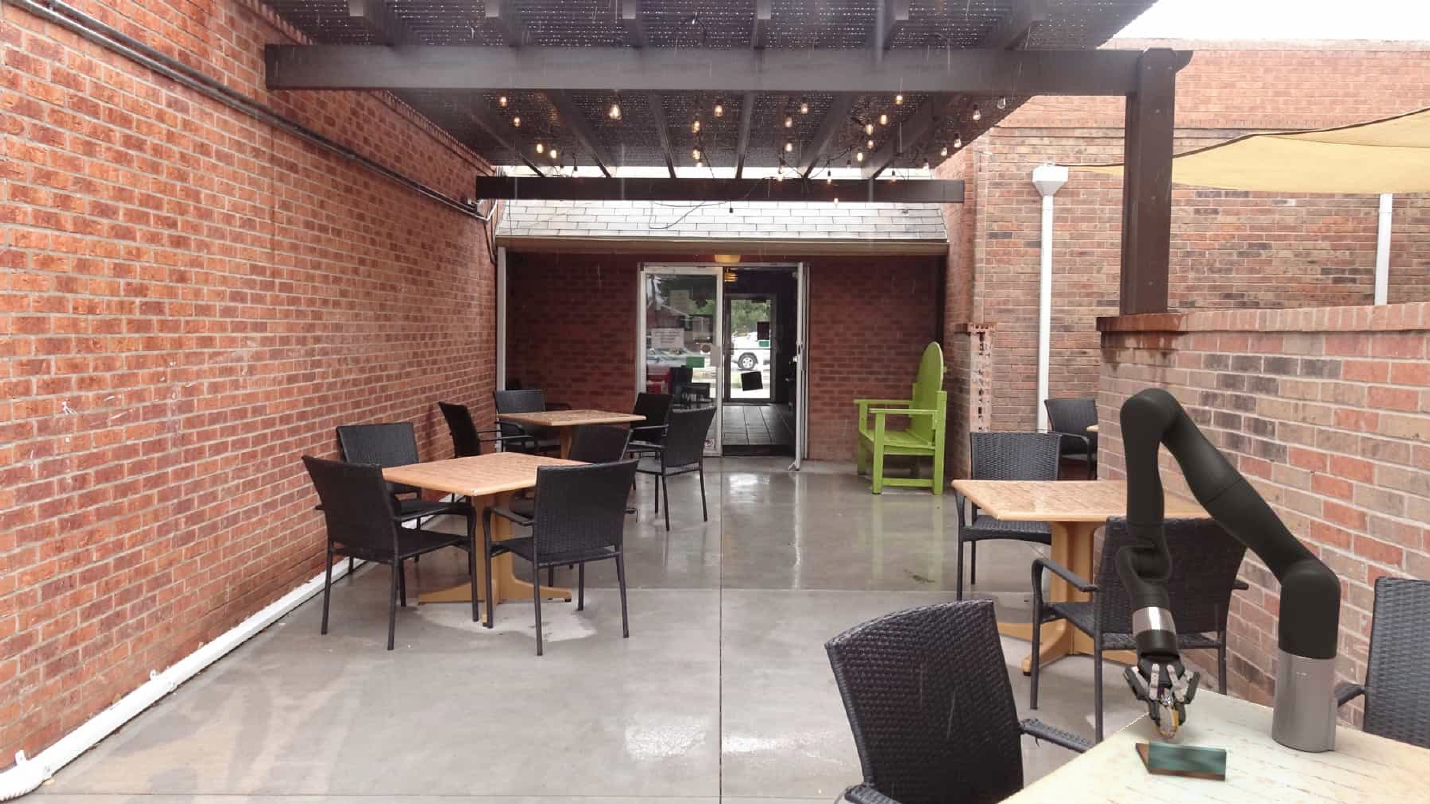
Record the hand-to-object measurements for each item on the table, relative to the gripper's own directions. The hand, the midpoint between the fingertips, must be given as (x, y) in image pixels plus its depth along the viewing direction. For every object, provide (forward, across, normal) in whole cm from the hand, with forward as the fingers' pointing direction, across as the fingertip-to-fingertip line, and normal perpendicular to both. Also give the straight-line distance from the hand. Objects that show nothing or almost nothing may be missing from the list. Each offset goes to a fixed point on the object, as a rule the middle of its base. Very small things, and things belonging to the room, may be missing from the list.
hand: (1168, 722), depth 175 cm
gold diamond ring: (+1, 0, +5) cm, 5 cm away
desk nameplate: (+8, 0, -2) cm, 9 cm away
